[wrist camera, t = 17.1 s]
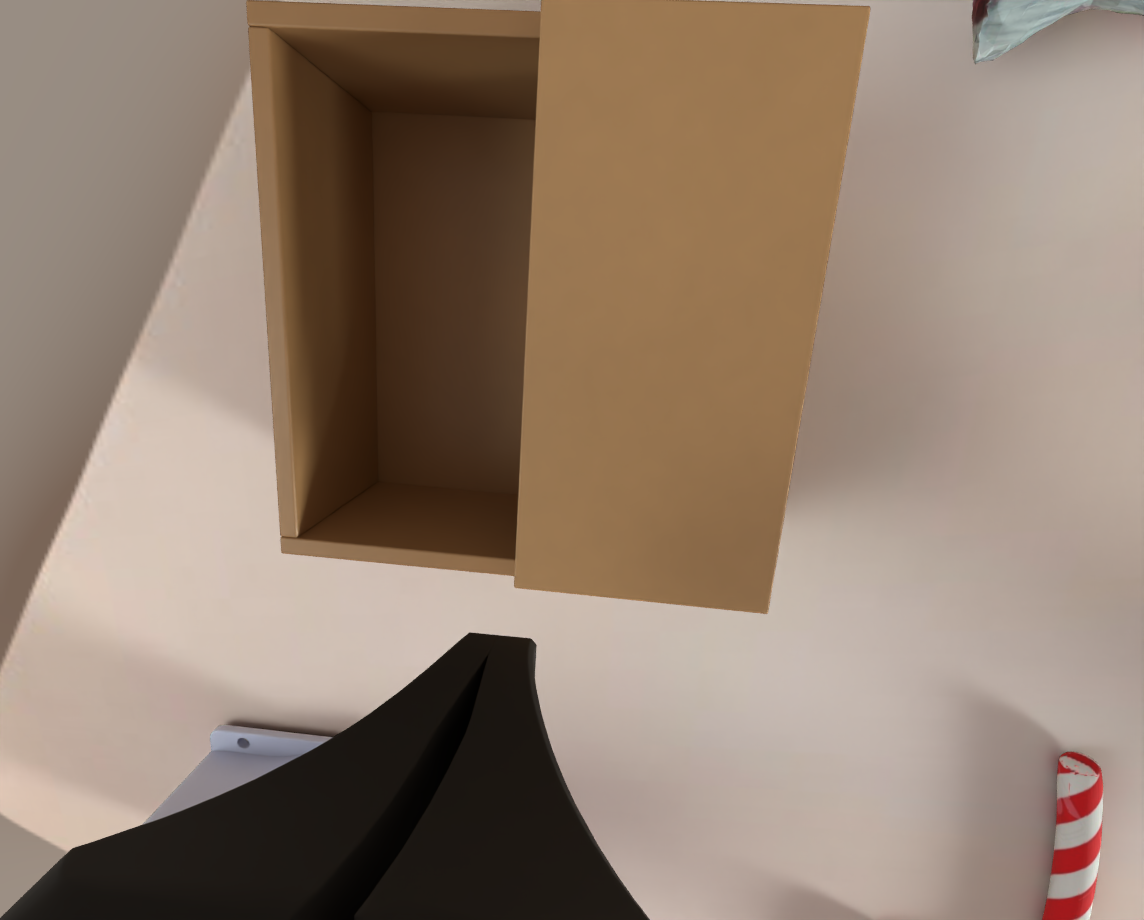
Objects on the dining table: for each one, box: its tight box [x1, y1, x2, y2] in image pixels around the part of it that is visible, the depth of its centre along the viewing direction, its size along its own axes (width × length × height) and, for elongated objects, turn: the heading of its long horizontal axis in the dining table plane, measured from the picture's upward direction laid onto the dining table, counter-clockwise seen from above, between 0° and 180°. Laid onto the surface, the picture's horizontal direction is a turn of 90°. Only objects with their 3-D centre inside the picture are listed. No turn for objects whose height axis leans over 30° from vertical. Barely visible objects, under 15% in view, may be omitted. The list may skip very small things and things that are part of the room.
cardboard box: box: [246, 0, 541, 576], centre depth 17 cm, size 13×13×6 cm
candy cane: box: [1042, 752, 1103, 920], centre depth 23 cm, size 8×1×15 cm
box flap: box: [514, 0, 870, 614], centre depth 13 cm, size 6×13×1 cm, turn 176°
